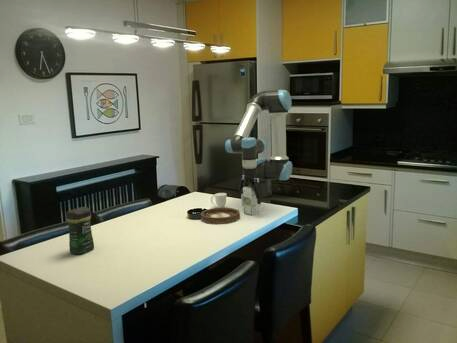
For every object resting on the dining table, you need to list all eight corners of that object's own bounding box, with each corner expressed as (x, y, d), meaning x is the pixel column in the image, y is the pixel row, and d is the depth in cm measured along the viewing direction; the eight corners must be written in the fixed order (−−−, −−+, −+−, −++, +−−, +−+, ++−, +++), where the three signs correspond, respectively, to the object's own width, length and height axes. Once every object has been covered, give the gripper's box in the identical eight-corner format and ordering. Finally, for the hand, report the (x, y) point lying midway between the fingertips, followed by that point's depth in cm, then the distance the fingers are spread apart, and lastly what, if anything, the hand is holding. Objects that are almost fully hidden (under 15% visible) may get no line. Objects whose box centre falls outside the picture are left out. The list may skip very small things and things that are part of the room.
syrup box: (258, 213, 216) (258, 186, 214) (251, 215, 212) (250, 188, 209) (250, 211, 220) (249, 185, 217) (243, 214, 216) (242, 187, 213)
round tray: (225, 210, 223) (225, 205, 223) (247, 218, 207) (247, 212, 207) (194, 217, 212) (193, 212, 212) (214, 226, 196) (214, 220, 196)
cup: (223, 210, 225) (222, 196, 224) (208, 208, 230) (207, 194, 229) (229, 207, 231) (229, 193, 229) (215, 205, 236) (214, 192, 235)
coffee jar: (80, 256, 165) (75, 212, 162) (66, 253, 168) (61, 210, 165) (98, 248, 173) (93, 206, 170) (84, 246, 177) (79, 204, 174)
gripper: (230, 165, 219) (232, 204, 223) (258, 170, 200) (259, 213, 203) (241, 164, 223) (243, 202, 227) (270, 169, 204) (271, 210, 208)
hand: (250, 207), depth 215 cm, fingers open, 12 cm apart
